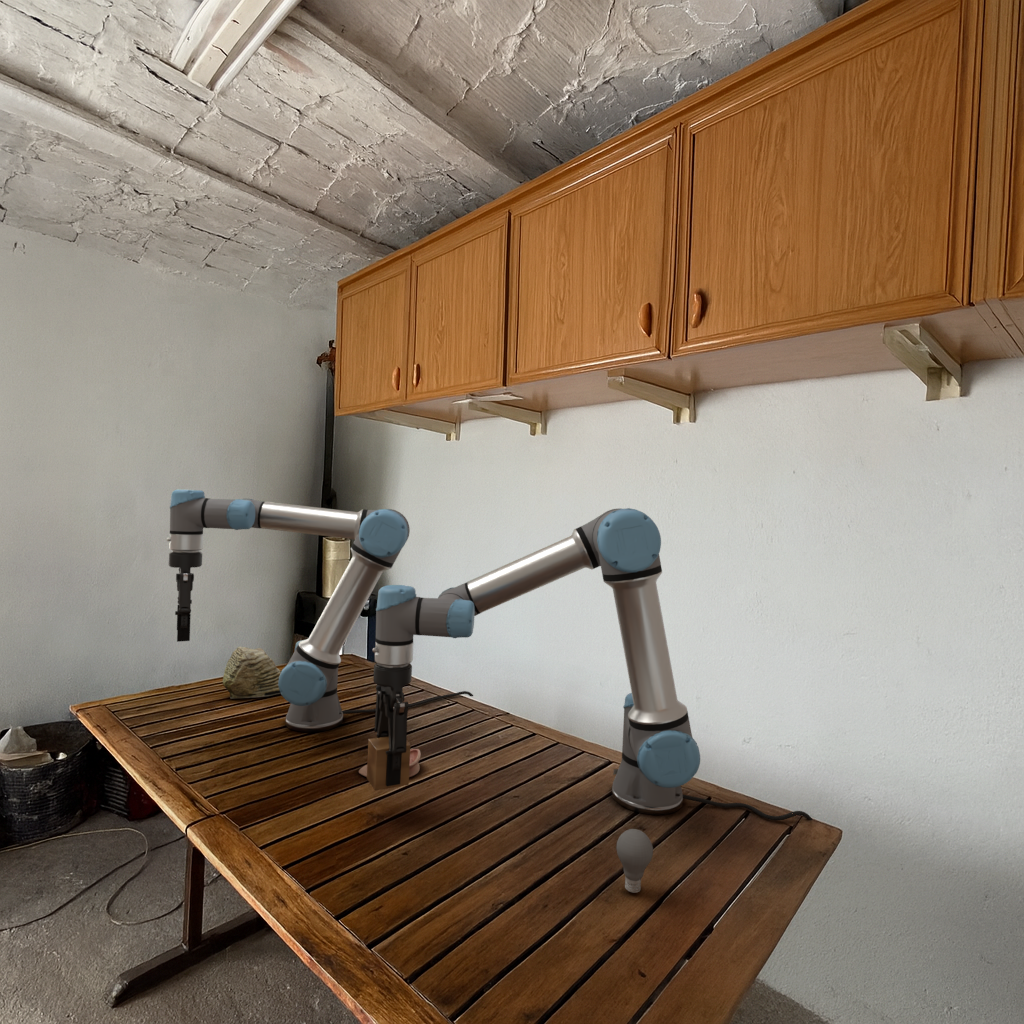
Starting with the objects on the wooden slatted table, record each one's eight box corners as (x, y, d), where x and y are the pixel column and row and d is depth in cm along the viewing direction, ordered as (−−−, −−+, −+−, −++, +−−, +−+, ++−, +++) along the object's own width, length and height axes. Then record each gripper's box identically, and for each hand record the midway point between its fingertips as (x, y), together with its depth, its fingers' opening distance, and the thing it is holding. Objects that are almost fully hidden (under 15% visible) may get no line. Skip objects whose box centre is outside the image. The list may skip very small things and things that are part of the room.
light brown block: (366, 778, 128) (368, 738, 128) (399, 772, 132) (401, 734, 131) (374, 790, 123) (376, 749, 123) (408, 784, 126) (410, 745, 126)
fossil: (218, 695, 195) (220, 647, 195) (278, 685, 208) (279, 640, 207) (228, 703, 189) (230, 653, 188) (289, 692, 201) (290, 645, 201)
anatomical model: (353, 759, 143) (374, 741, 154) (352, 777, 143) (373, 757, 154) (408, 767, 140) (426, 748, 152) (408, 785, 140) (425, 764, 152)
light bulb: (610, 879, 108) (613, 822, 108) (644, 879, 109) (647, 822, 109) (619, 902, 102) (622, 840, 102) (655, 901, 103) (658, 840, 103)
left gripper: (169, 546, 168) (166, 626, 169) (168, 555, 146) (165, 647, 147) (200, 546, 172) (197, 624, 172) (204, 555, 150) (201, 645, 150)
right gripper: (362, 653, 133) (357, 761, 134) (389, 677, 117) (383, 801, 117) (396, 650, 137) (391, 756, 137) (427, 674, 120) (421, 794, 121)
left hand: (182, 635), depth 159 cm, fingers open, 13 cm apart
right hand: (387, 777), depth 127 cm, fingers closed on light brown block, 6 cm apart
